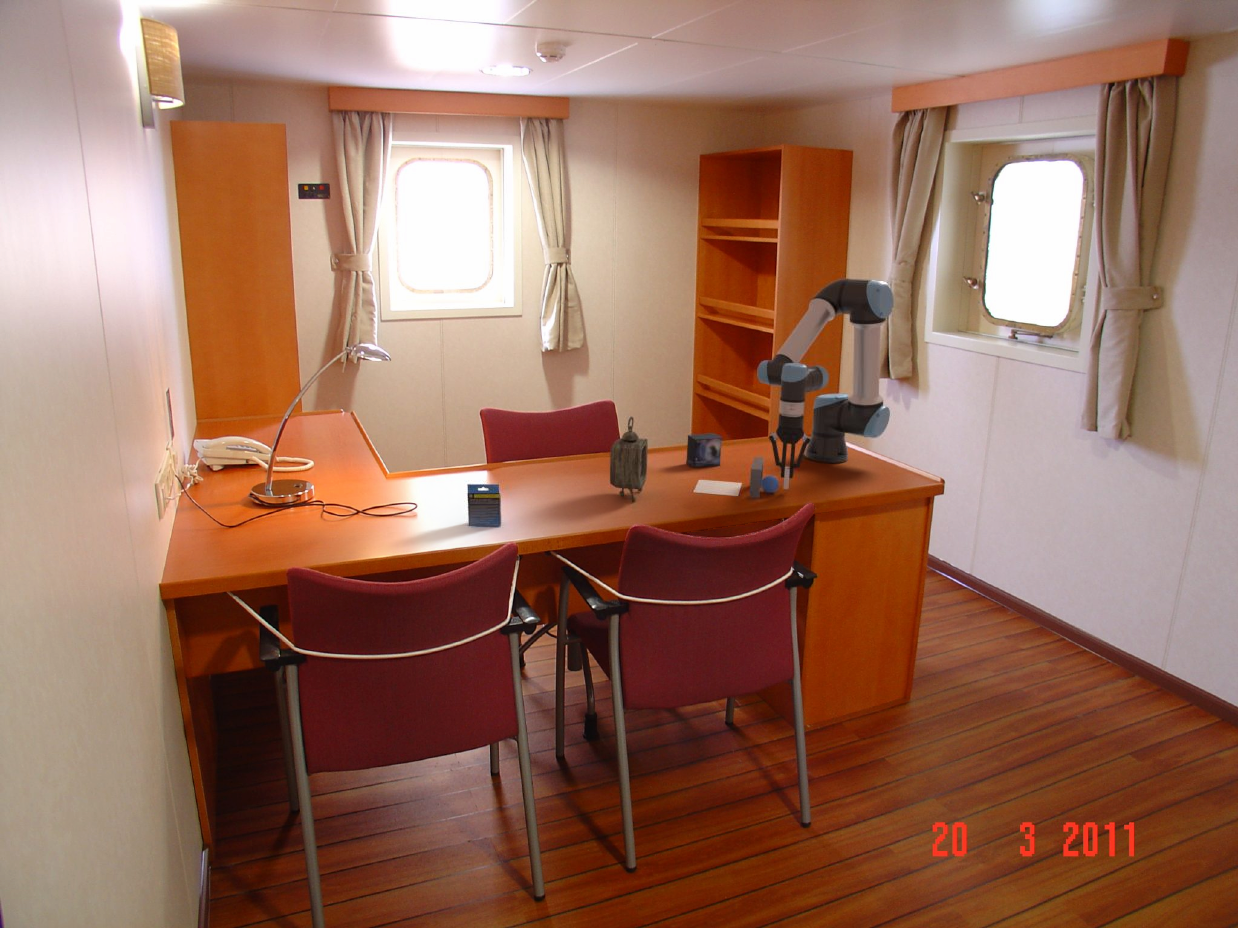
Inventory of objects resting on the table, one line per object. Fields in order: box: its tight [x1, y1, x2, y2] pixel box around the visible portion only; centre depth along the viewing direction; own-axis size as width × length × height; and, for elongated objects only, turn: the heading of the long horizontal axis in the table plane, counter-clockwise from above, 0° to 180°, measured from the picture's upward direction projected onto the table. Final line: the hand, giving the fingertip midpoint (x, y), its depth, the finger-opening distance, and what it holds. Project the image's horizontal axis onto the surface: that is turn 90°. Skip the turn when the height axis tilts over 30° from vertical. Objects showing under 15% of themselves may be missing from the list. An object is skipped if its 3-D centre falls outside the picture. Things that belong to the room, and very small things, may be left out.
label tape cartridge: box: [466, 483, 502, 527], centre depth 246 cm, size 9×4×12 cm, turn 92°
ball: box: [760, 475, 780, 494], centre depth 281 cm, size 6×6×6 cm
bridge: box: [748, 456, 765, 499], centre depth 281 cm, size 3×14×9 cm, turn 168°
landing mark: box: [692, 479, 743, 497], centre depth 285 cm, size 14×14×1 cm
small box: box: [685, 432, 723, 469], centre depth 310 cm, size 11×6×10 cm, turn 112°
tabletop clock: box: [609, 416, 648, 503], centre depth 272 cm, size 14×9×25 cm, turn 168°
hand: (786, 487), depth 280 cm, fingers closed
